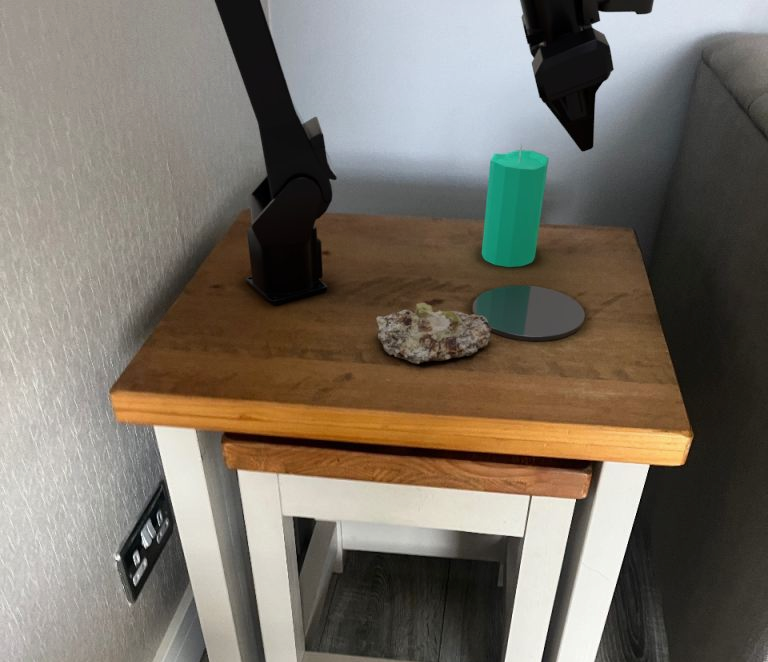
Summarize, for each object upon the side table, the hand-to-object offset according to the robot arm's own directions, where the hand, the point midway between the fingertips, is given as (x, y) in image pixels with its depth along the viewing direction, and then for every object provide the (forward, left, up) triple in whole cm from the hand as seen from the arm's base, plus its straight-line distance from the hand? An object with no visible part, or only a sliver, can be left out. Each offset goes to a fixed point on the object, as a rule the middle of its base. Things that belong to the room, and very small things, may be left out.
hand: (581, 130), depth 76 cm
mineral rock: (-21, -6, -14) cm, 26 cm away
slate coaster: (-10, -6, -14) cm, 18 cm away
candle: (-2, +6, -14) cm, 16 cm away
